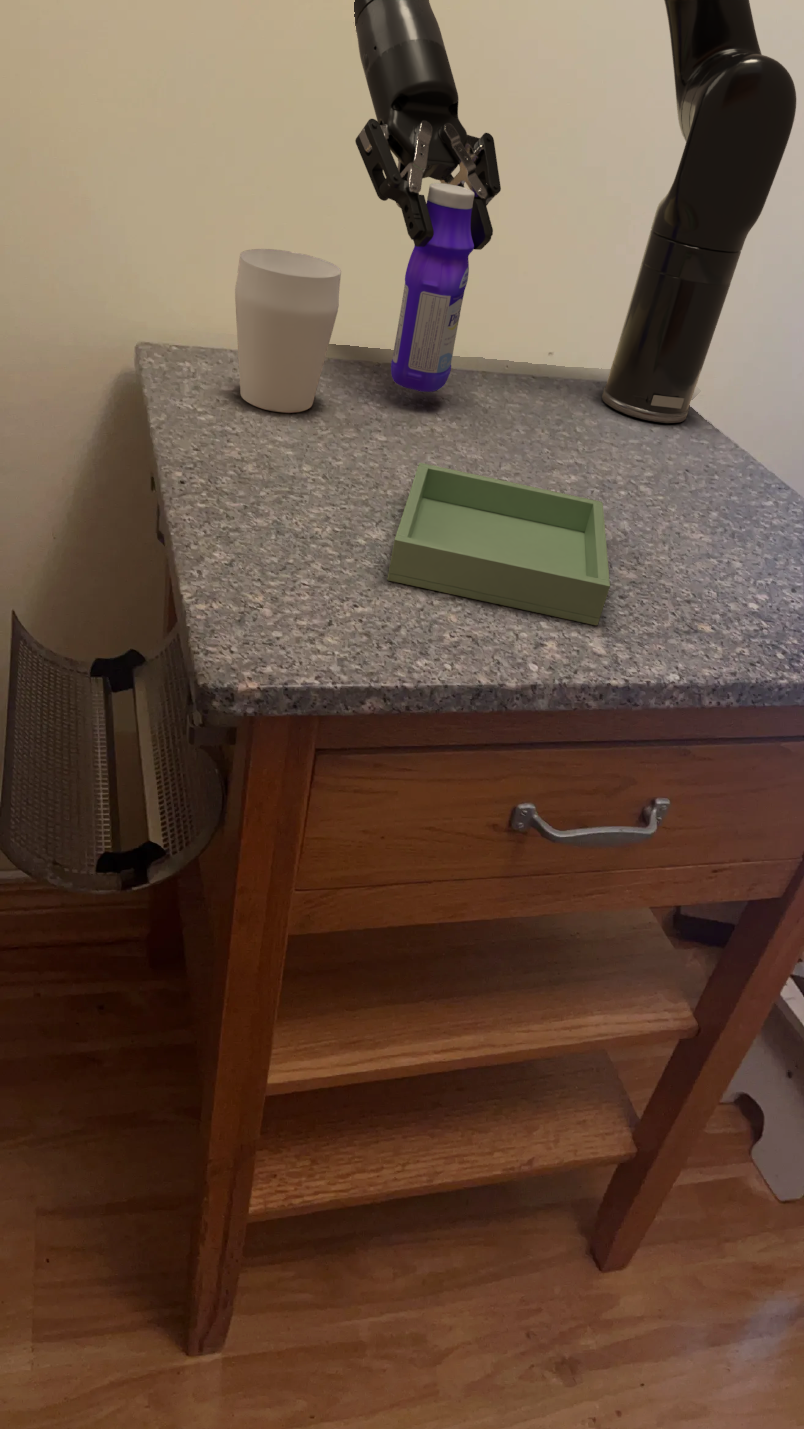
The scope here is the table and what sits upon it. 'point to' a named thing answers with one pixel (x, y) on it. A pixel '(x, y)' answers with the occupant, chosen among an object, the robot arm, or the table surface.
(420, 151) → the robot arm
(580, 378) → the table surface
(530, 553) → the tray
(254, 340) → the cup
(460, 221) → the bottle
